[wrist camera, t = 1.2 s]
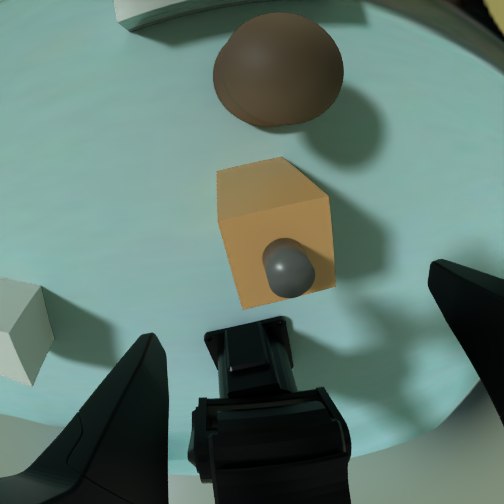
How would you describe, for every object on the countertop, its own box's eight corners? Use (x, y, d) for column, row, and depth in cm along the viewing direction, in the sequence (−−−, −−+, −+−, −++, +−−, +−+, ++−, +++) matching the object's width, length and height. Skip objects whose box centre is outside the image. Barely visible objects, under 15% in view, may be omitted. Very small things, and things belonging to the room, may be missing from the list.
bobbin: (323, 117, 16) (360, 124, 12) (225, 135, 16) (229, 146, 12) (305, 26, 13) (336, 2, 9) (203, 40, 13) (199, 16, 9)
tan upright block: (292, 216, 19) (348, 308, 11) (231, 230, 19) (246, 334, 11) (281, 156, 17) (345, 211, 9) (216, 171, 17) (218, 239, 9)
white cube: (-9, 273, 18) (-44, 314, 13) (41, 284, 19) (8, 333, 14) (7, 325, 21) (-18, 368, 16) (55, 338, 22) (32, 387, 17)
